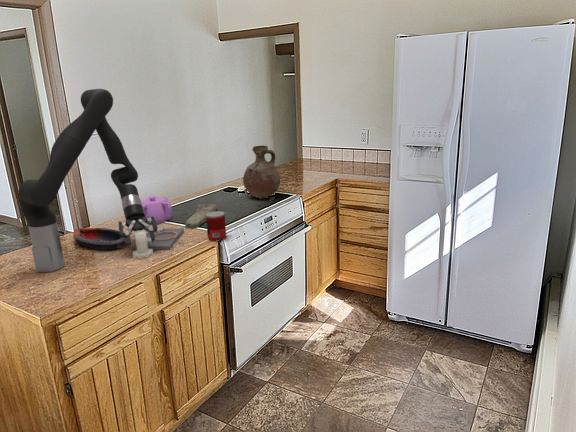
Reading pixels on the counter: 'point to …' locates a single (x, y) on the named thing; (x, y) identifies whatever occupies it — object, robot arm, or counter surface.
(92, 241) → the dish
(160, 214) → the teakettle
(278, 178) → the jug
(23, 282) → the counter surface
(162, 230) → the gear board
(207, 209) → the elongated rock
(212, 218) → the canned food
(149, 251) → the cream gear
